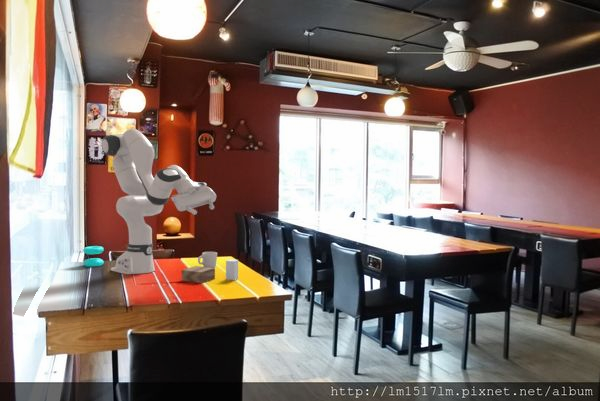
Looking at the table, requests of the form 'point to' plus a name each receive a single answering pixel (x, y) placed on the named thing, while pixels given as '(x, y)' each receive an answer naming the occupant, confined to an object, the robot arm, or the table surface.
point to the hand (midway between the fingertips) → (204, 210)
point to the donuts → (93, 261)
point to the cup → (208, 259)
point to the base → (198, 274)
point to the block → (231, 269)
